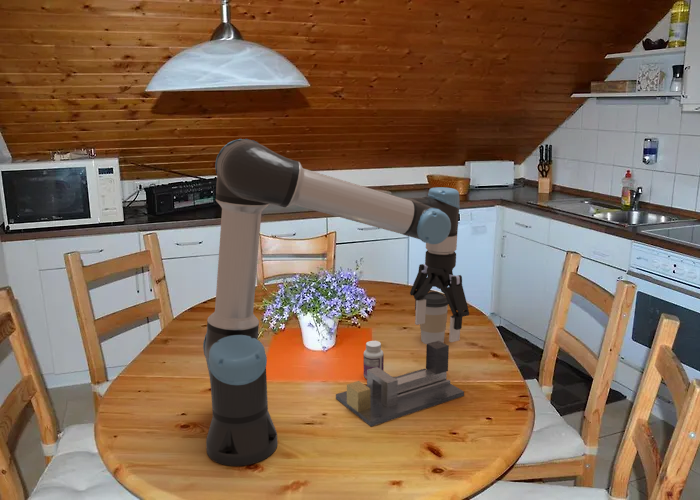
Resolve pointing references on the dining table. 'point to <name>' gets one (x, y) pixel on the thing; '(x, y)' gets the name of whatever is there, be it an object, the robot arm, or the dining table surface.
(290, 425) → the dining table surface
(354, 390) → the block
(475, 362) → the dining table surface
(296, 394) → the dining table surface
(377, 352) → the pill bottle
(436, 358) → the sliding bolt with handle
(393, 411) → the slotted base plate
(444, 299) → the coffee cup
